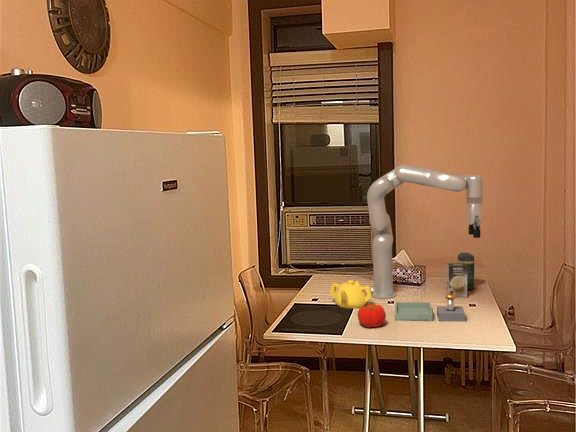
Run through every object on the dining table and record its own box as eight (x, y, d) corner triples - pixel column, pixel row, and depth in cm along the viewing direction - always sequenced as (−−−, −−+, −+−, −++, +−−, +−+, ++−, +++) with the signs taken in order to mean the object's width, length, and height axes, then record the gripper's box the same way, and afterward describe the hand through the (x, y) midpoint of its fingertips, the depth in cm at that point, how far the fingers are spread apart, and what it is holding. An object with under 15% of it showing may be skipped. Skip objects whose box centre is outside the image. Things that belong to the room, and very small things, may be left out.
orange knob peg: (445, 319, 264) (445, 296, 262) (445, 316, 268) (444, 293, 267) (456, 319, 263) (456, 296, 262) (455, 316, 267) (455, 293, 266)
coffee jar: (475, 290, 310) (475, 254, 308) (460, 290, 311) (460, 255, 308) (471, 285, 319) (471, 251, 317) (456, 286, 320) (456, 251, 318)
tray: (394, 320, 264) (394, 313, 264) (395, 308, 283) (395, 302, 283) (432, 321, 262) (432, 314, 261) (430, 308, 280) (430, 302, 280)
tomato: (366, 319, 268) (366, 300, 267) (391, 324, 260) (391, 304, 259) (350, 326, 258) (350, 307, 257) (375, 331, 250) (375, 311, 249)
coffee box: (448, 297, 298) (448, 265, 296) (446, 294, 304) (446, 263, 302) (467, 297, 297) (467, 265, 295) (465, 294, 303) (465, 262, 301)
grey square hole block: (438, 321, 261) (438, 313, 261) (437, 313, 272) (436, 306, 271) (465, 321, 259) (464, 313, 259) (462, 314, 270) (462, 306, 269)
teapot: (328, 302, 298) (327, 278, 296) (359, 298, 303) (359, 275, 301) (342, 311, 282) (341, 286, 280) (374, 307, 287) (374, 282, 285)
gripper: (462, 199, 300) (462, 233, 302) (470, 202, 282) (470, 239, 284) (477, 198, 299) (477, 233, 301) (487, 202, 282) (486, 238, 284)
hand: (474, 236), depth 293 cm, fingers open, 9 cm apart
